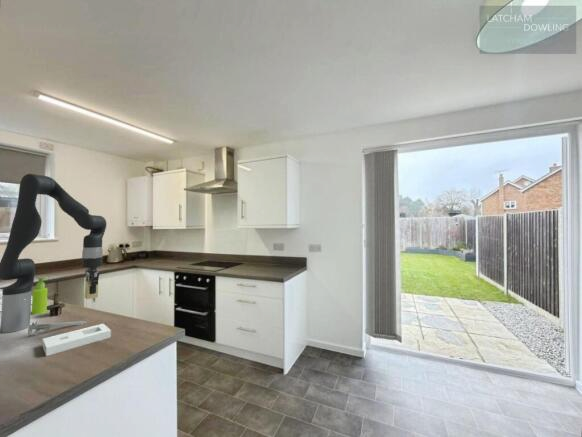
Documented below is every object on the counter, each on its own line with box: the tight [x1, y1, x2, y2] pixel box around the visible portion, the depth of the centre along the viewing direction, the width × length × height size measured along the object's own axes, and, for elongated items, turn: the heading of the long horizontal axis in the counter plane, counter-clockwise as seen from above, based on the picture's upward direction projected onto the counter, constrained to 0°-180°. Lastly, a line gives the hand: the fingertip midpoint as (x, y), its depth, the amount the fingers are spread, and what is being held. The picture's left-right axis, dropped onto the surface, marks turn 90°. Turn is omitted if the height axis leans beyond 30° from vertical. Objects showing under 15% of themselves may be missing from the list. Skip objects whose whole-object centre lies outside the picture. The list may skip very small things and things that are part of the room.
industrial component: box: [47, 292, 66, 317], centre depth 133 cm, size 9×7×12 cm
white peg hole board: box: [41, 323, 112, 357], centre depth 101 cm, size 12×20×3 cm, turn 141°
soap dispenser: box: [31, 276, 50, 315], centre depth 136 cm, size 6×7×20 cm
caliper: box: [27, 320, 88, 338], centre depth 113 cm, size 20×1×6 cm, turn 143°
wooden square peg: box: [84, 280, 99, 300], centre depth 113 cm, size 4×4×8 cm
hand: (91, 292), depth 113 cm, fingers closed on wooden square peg, 4 cm apart
